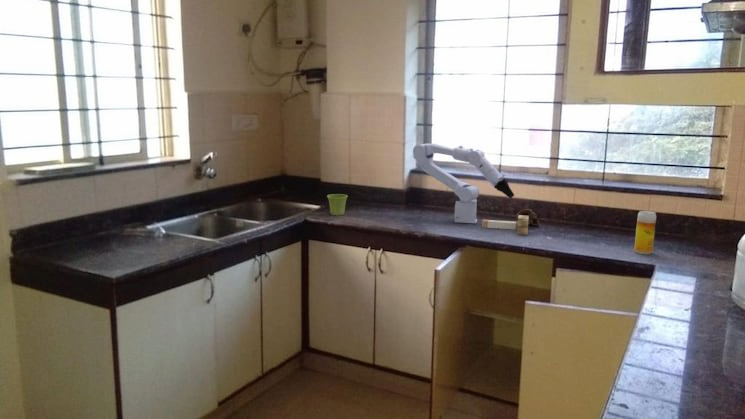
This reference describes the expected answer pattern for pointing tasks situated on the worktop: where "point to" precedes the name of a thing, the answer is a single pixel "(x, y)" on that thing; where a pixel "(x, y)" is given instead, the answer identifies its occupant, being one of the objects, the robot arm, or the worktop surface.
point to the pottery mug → (529, 216)
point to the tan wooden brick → (522, 224)
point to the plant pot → (337, 203)
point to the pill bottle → (645, 232)
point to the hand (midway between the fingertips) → (511, 196)
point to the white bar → (500, 224)
